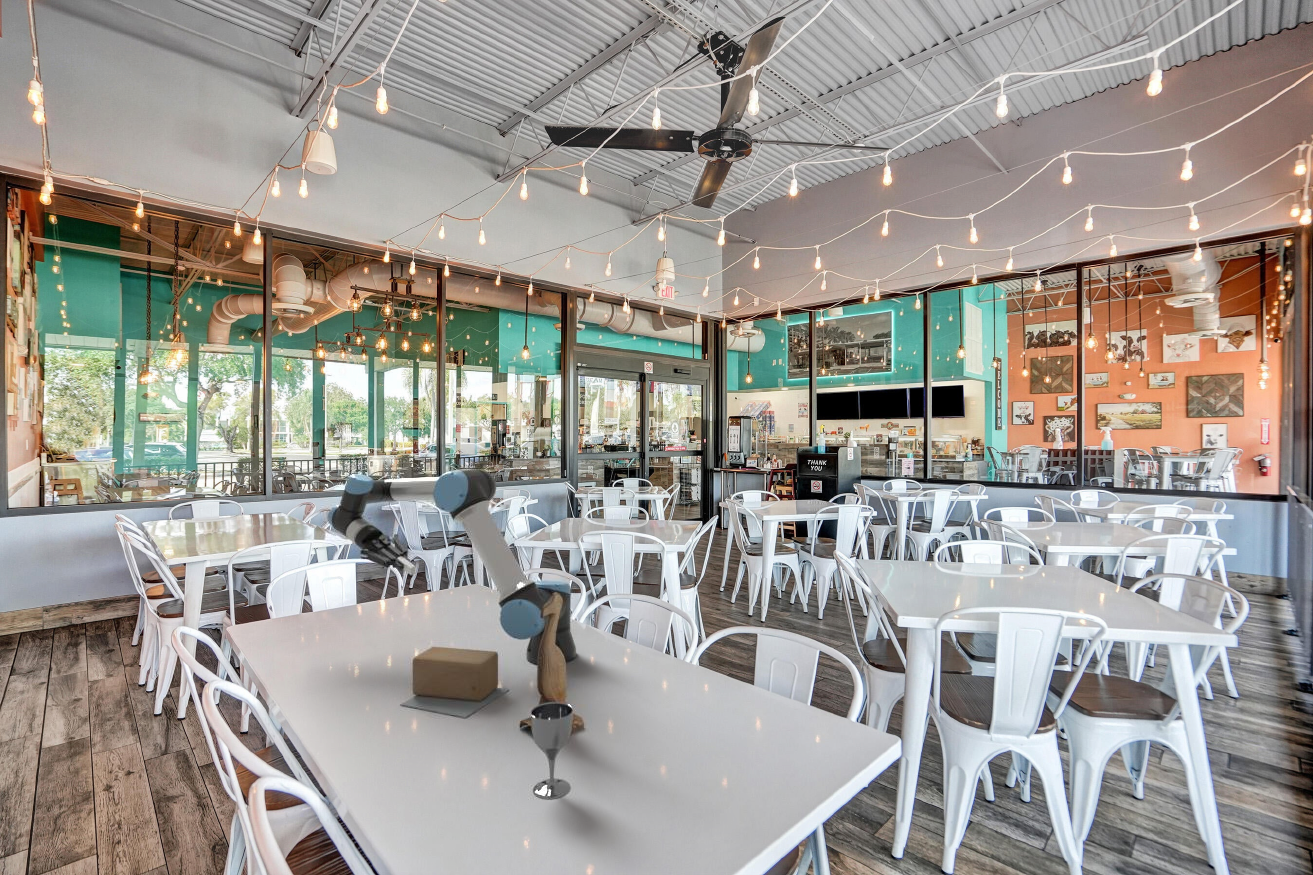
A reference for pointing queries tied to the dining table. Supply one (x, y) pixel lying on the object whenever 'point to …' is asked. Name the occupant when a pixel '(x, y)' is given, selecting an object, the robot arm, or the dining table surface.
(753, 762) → the dining table surface
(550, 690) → the bird sculpture
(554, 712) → the wine glass
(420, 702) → the mat
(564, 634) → the robot arm
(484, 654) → the wooden block
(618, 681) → the dining table surface
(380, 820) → the dining table surface
